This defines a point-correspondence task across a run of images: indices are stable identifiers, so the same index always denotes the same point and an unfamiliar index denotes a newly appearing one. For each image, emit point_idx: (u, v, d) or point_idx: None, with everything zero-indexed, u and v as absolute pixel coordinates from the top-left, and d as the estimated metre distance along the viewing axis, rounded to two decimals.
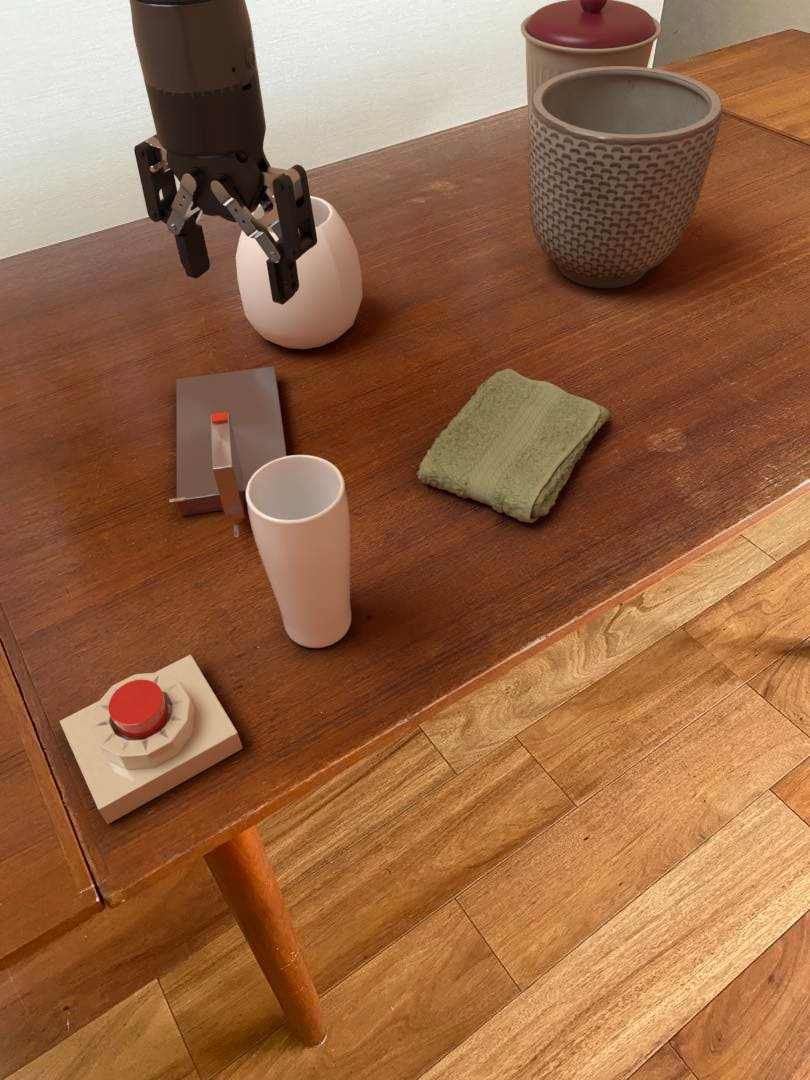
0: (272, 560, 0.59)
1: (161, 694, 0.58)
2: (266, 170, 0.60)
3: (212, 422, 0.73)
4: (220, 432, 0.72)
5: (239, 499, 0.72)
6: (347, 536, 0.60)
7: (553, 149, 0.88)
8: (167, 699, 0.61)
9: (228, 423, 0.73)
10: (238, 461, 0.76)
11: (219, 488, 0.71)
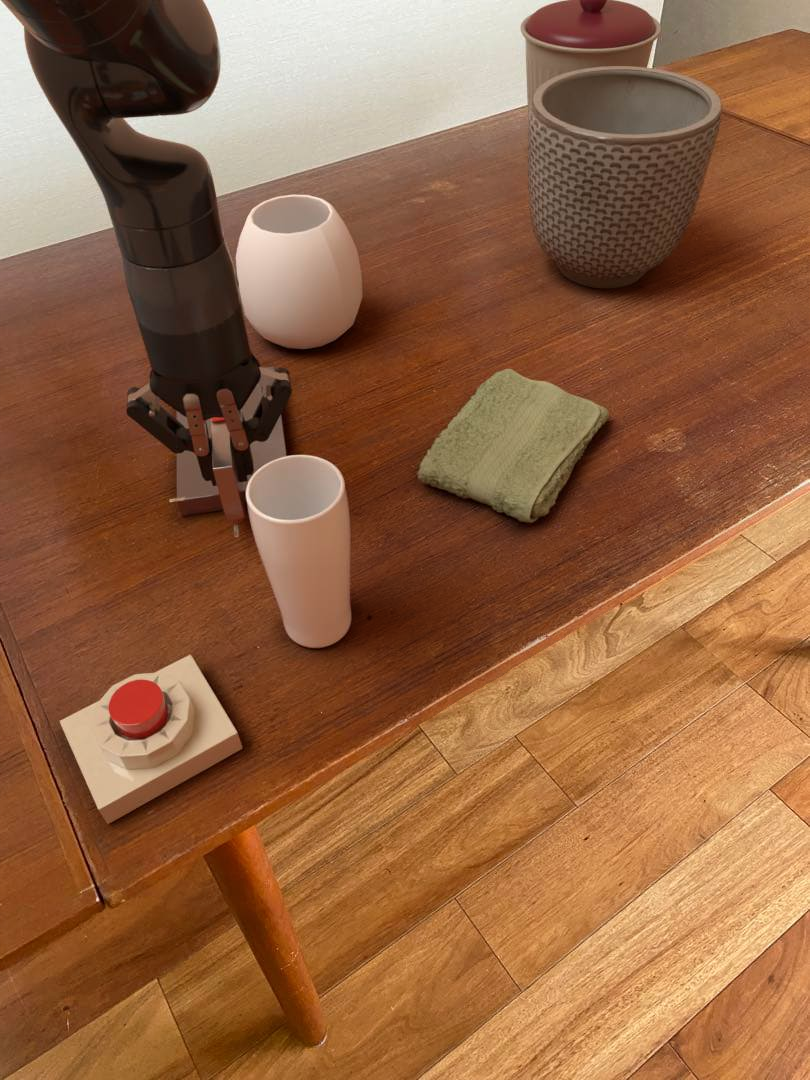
0: (272, 560, 0.59)
1: (161, 694, 0.58)
2: (263, 371, 0.68)
3: (212, 422, 0.73)
4: (220, 432, 0.72)
5: (239, 499, 0.72)
6: (347, 536, 0.60)
7: (553, 149, 0.88)
8: (167, 699, 0.61)
9: None
10: None
11: (219, 488, 0.71)
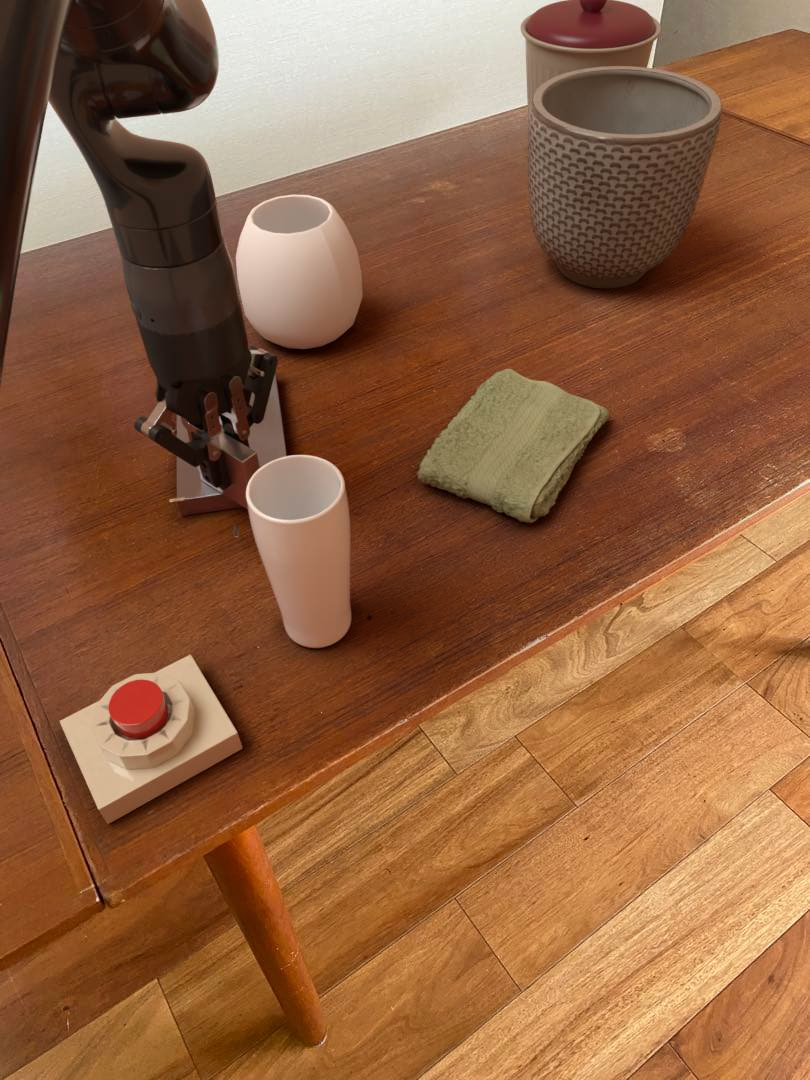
0: (272, 560, 0.59)
1: (161, 694, 0.58)
2: None
3: None
4: None
5: None
6: (347, 536, 0.60)
7: (553, 149, 0.88)
8: (167, 699, 0.61)
9: None
10: None
11: (248, 481, 0.71)
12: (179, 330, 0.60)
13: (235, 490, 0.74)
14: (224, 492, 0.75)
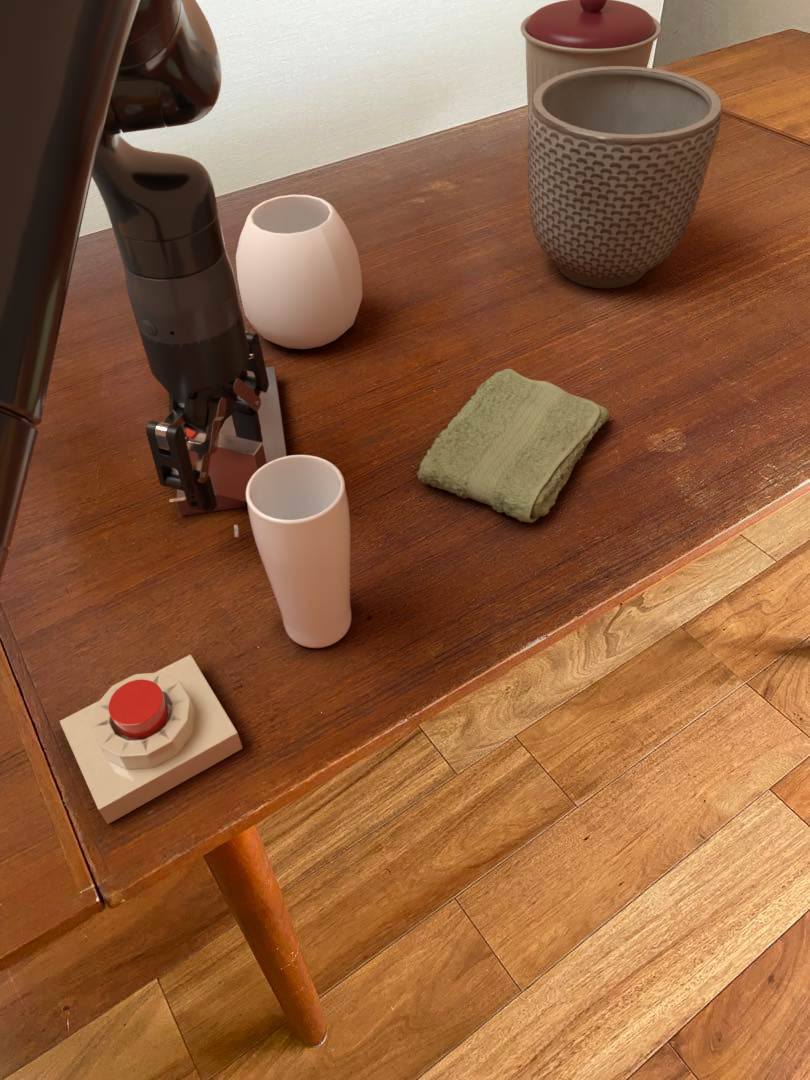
0: (272, 560, 0.59)
1: (161, 694, 0.58)
2: None
3: (192, 437, 0.72)
4: None
5: None
6: (347, 536, 0.60)
7: (553, 149, 0.88)
8: (167, 699, 0.61)
9: None
10: None
11: None
12: (200, 337, 0.60)
13: (241, 488, 0.74)
14: (226, 494, 0.75)
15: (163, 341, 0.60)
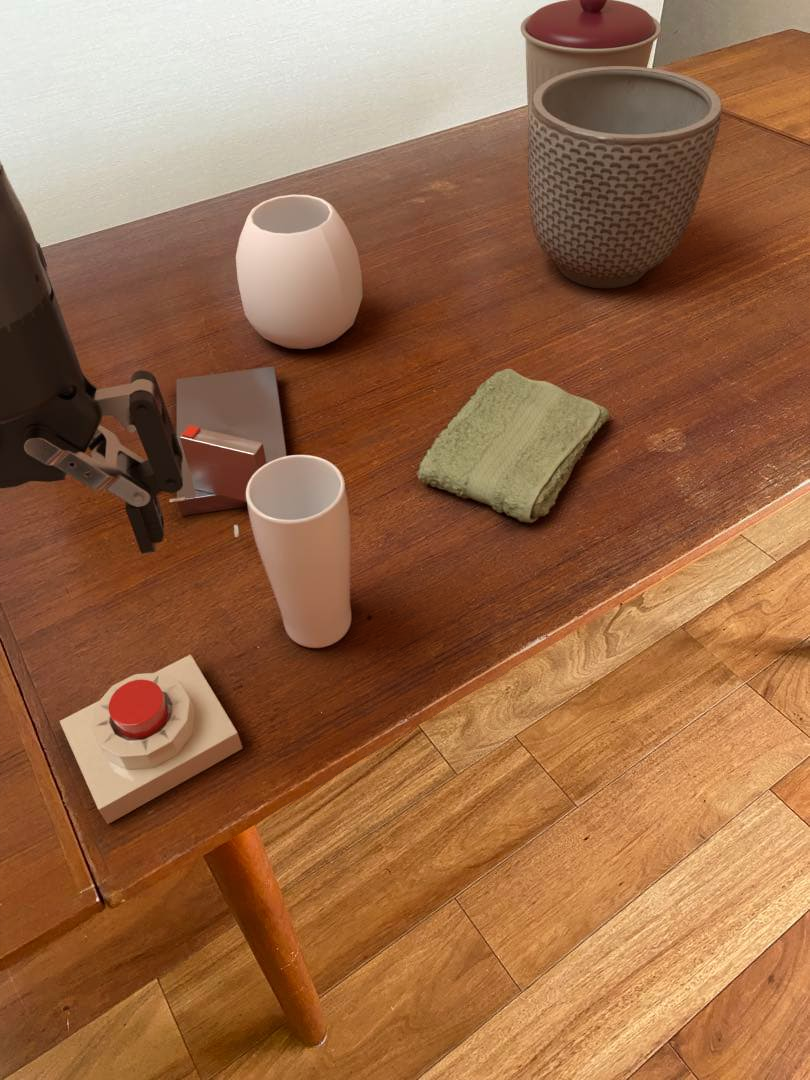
0: (272, 560, 0.59)
1: (161, 694, 0.58)
2: (101, 395, 0.41)
3: (192, 437, 0.72)
4: (211, 437, 0.72)
5: None
6: (347, 536, 0.60)
7: (553, 149, 0.88)
8: (167, 699, 0.61)
9: (203, 429, 0.73)
10: None
11: None
12: None
13: (241, 488, 0.74)
14: (226, 494, 0.75)
15: None
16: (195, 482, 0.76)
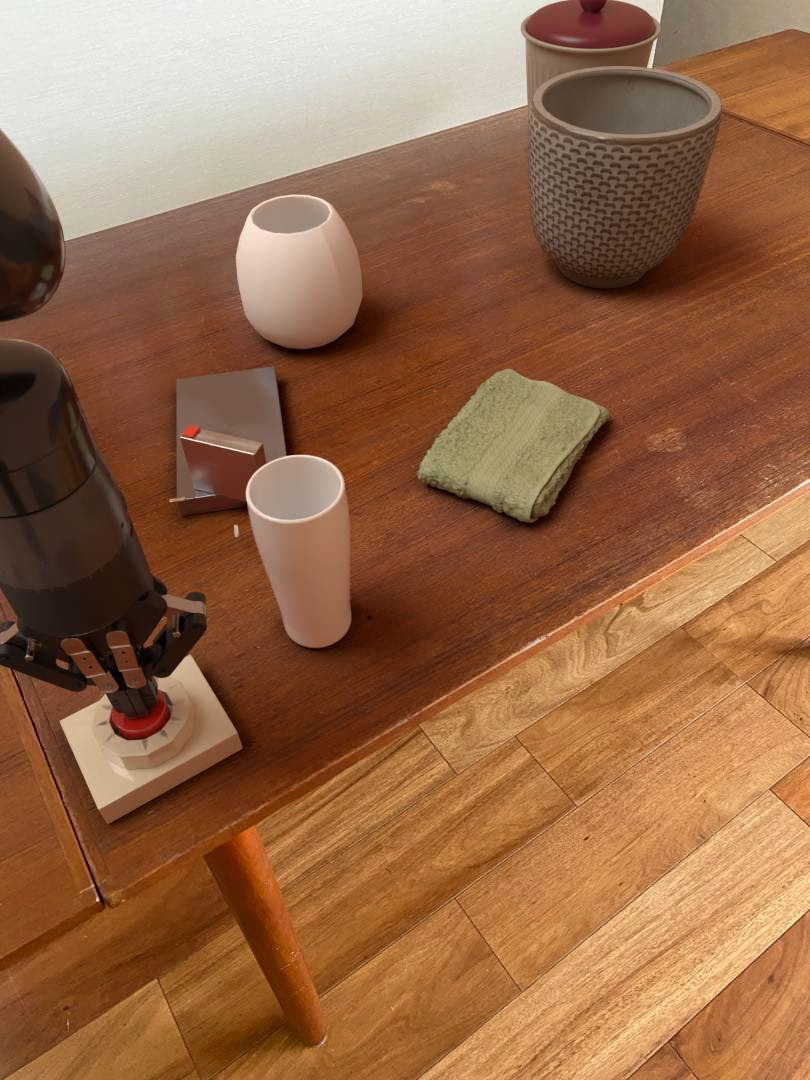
0: (272, 560, 0.59)
1: (163, 700, 0.59)
2: (171, 602, 0.51)
3: (192, 437, 0.72)
4: (211, 437, 0.72)
5: None
6: (347, 536, 0.60)
7: (553, 149, 0.88)
8: (167, 699, 0.61)
9: (203, 429, 0.73)
10: None
11: None
12: None
13: (241, 488, 0.74)
14: (226, 494, 0.75)
15: None
16: (195, 482, 0.76)
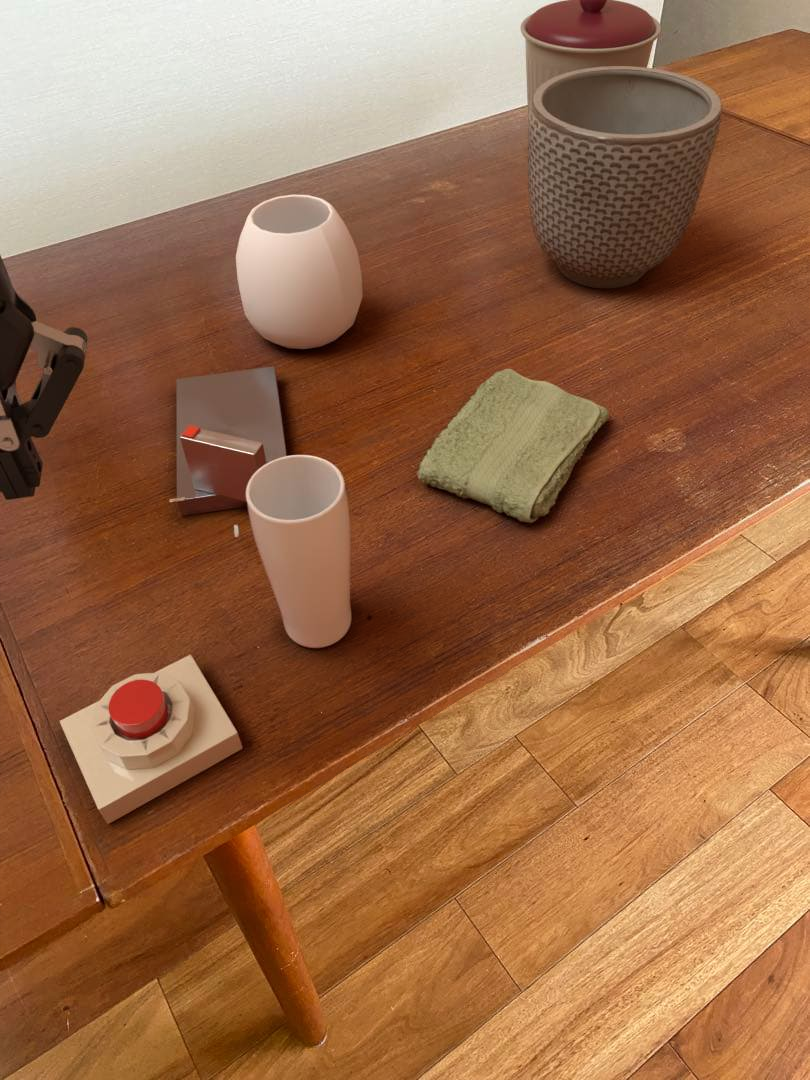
0: (272, 560, 0.59)
1: (161, 694, 0.58)
2: (40, 329, 0.43)
3: (192, 437, 0.72)
4: (211, 437, 0.72)
5: None
6: (347, 536, 0.60)
7: (553, 149, 0.88)
8: (167, 699, 0.61)
9: (203, 429, 0.73)
10: None
11: None
12: None
13: (241, 488, 0.74)
14: (226, 494, 0.75)
15: None
16: (195, 482, 0.76)
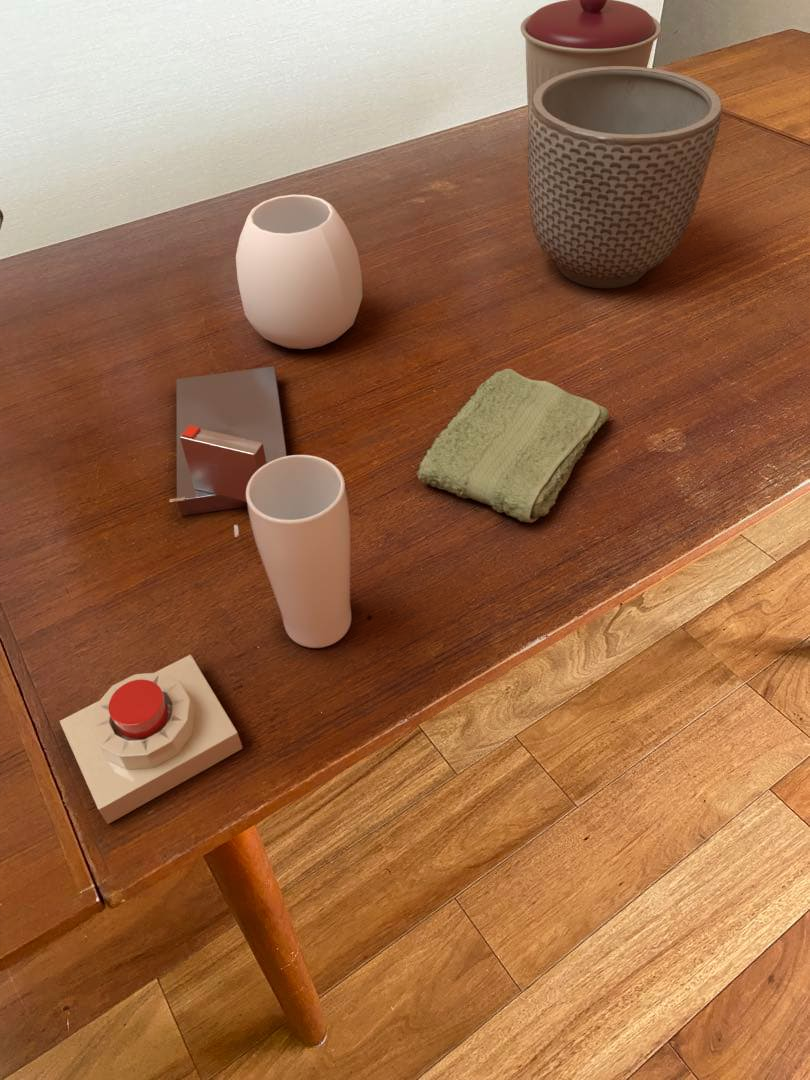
0: (272, 560, 0.59)
1: (161, 694, 0.58)
2: None
3: (192, 437, 0.72)
4: (211, 437, 0.72)
5: None
6: (347, 536, 0.60)
7: (553, 149, 0.88)
8: (167, 699, 0.61)
9: (203, 429, 0.73)
10: None
11: None
12: None
13: (241, 488, 0.74)
14: (226, 494, 0.75)
15: None
16: (195, 482, 0.76)
